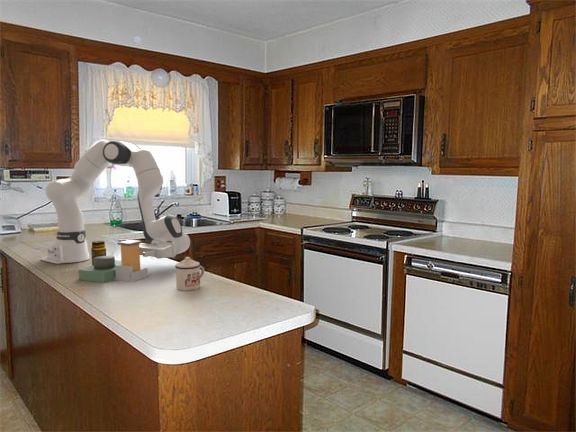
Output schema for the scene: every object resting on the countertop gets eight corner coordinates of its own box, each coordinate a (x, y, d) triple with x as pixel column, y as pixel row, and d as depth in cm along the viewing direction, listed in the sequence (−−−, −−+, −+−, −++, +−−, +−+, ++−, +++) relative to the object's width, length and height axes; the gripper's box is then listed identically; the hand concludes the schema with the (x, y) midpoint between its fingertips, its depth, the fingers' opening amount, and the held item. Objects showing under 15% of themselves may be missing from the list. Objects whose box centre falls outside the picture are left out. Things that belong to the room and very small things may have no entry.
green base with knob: (78, 279, 179) (77, 259, 179) (114, 269, 197) (113, 251, 196) (121, 285, 170) (120, 264, 170) (155, 274, 188) (154, 255, 187)
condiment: (109, 268, 197) (108, 242, 196) (88, 271, 193) (87, 243, 191) (105, 265, 203) (104, 239, 202) (85, 268, 199) (84, 241, 197)
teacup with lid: (186, 292, 161) (185, 261, 160) (170, 288, 167) (169, 257, 165) (211, 285, 170) (211, 255, 169) (196, 281, 176) (195, 252, 174)
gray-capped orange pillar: (119, 276, 180) (117, 242, 178) (131, 272, 186) (130, 239, 184) (131, 278, 177) (129, 243, 175) (143, 274, 183) (141, 240, 181)
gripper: (142, 238, 199) (117, 243, 187) (177, 242, 189) (153, 248, 177) (143, 252, 200) (118, 258, 188) (178, 257, 190) (154, 263, 178)
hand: (135, 253), depth 182 cm, fingers open, 8 cm apart
